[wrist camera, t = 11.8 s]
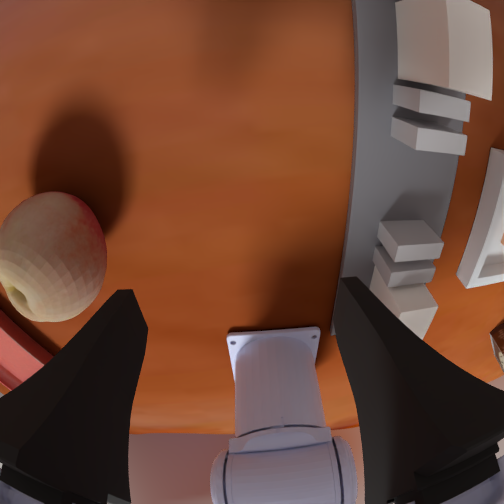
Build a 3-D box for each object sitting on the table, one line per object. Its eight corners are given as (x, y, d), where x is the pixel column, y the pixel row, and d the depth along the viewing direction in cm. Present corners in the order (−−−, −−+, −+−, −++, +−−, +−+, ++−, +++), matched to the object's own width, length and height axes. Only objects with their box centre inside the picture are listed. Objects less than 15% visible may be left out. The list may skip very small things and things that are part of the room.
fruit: (19, 194, 17) (-47, 254, 10) (96, 158, 16) (23, 219, 9) (62, 277, 21) (20, 349, 15) (140, 260, 20) (105, 348, 14)
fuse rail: (407, 319, 25) (421, 347, 22) (329, 330, 25) (338, 362, 22) (456, -5, 9) (490, -9, 6) (347, -38, 9) (370, -57, 6)
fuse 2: (437, 86, 13) (491, 100, 9) (397, 78, 13) (448, 87, 9) (436, 15, 10) (489, 10, 6) (395, 2, 10) (444, -12, 6)
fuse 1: (394, 308, 23) (415, 353, 19) (363, 312, 23) (381, 360, 19) (409, 261, 20) (438, 306, 16) (375, 264, 20) (401, 312, 16)
